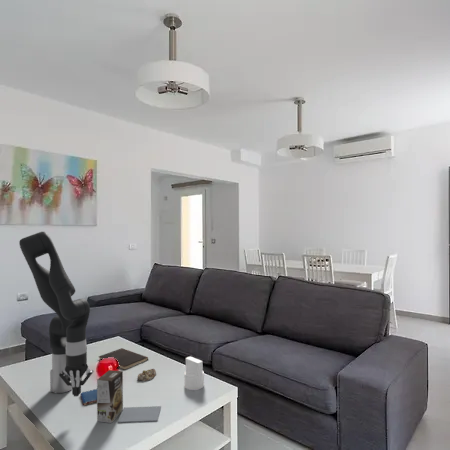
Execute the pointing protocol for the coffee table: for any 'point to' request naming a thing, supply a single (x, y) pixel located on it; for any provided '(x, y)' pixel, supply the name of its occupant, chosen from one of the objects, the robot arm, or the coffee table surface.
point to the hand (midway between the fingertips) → (76, 395)
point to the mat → (139, 414)
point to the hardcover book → (125, 358)
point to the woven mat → (89, 397)
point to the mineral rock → (147, 375)
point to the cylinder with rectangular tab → (194, 374)
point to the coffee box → (109, 396)
